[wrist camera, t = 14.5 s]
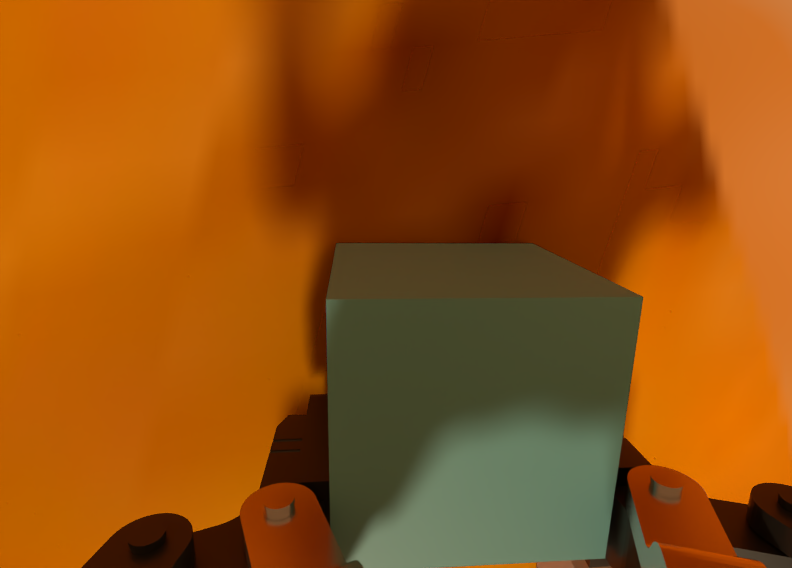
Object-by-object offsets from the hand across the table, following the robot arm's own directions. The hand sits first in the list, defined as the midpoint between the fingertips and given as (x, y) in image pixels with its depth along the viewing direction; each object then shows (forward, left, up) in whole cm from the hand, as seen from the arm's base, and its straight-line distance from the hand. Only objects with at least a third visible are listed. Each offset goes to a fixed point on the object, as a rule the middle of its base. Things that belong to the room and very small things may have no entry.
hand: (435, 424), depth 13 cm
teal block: (0, +2, -1) cm, 2 cm away
